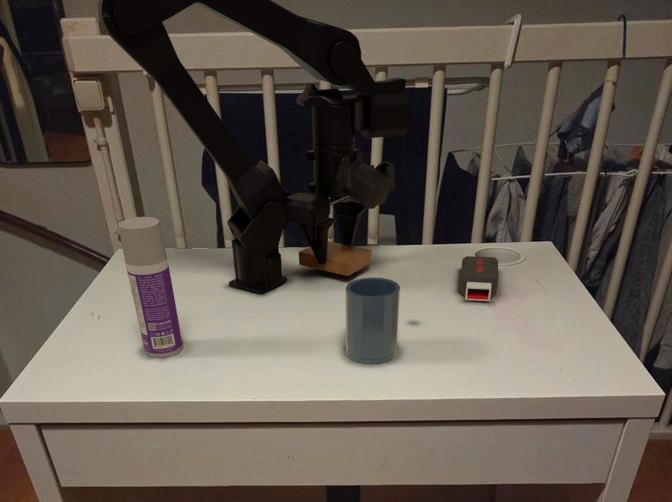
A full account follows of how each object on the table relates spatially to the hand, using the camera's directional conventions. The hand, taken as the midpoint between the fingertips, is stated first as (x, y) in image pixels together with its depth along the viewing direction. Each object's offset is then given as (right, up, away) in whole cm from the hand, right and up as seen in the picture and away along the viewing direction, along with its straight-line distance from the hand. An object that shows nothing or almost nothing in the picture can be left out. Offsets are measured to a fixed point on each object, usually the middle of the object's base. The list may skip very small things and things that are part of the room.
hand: (335, 257), depth 94 cm
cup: (+4, -19, -20) cm, 28 cm away
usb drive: (+21, -6, -5) cm, 22 cm away
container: (-22, -18, -18) cm, 33 cm away
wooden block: (0, -1, +1) cm, 1 cm away
